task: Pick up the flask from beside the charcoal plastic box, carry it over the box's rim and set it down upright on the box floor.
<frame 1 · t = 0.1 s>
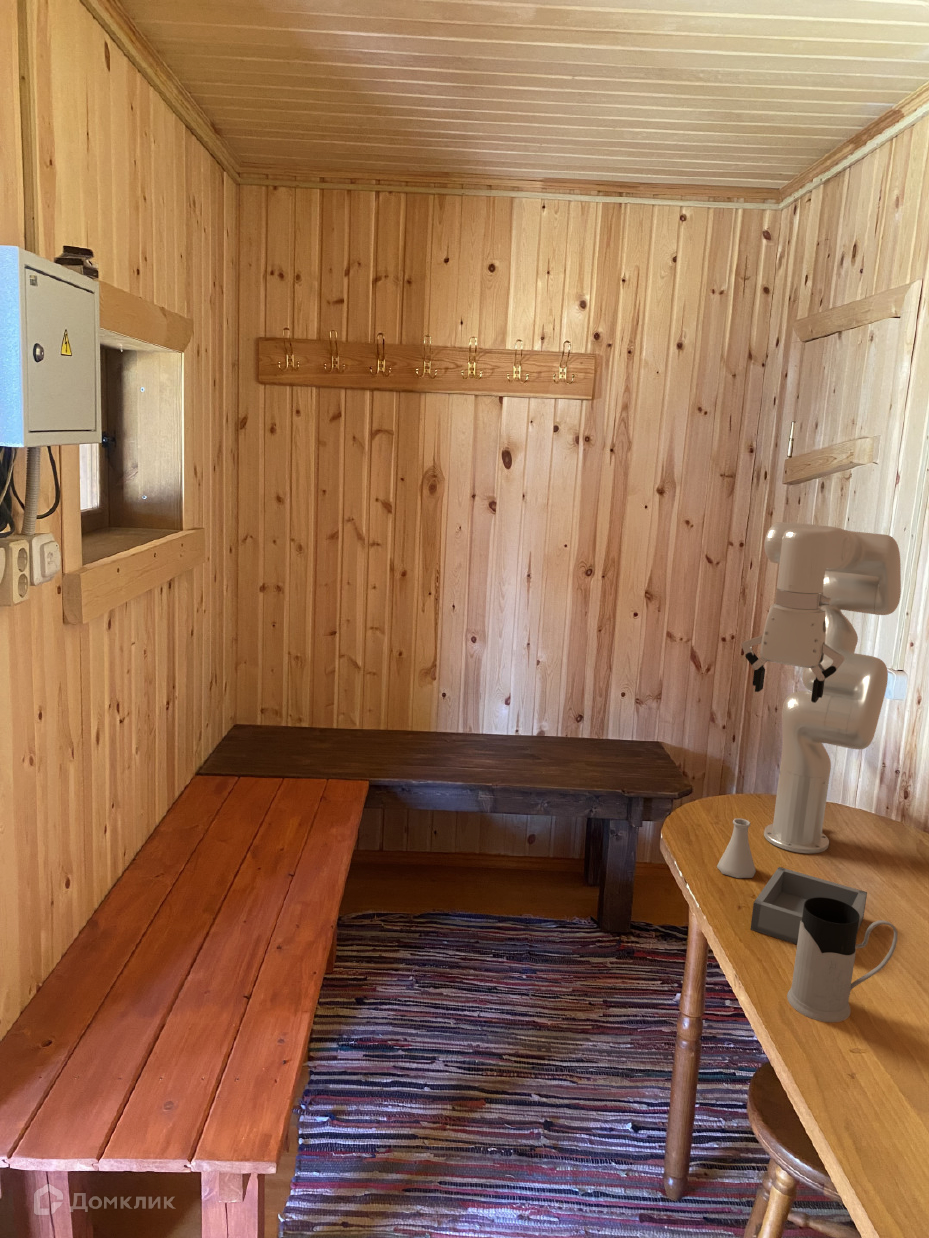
hand: (786, 695, 162), 37 cm above the table, tool pointing down, fingers open, 9 cm apart
charcoal box: (807, 923, 157), on the table
grey mug: (837, 1005, 135), on the table
flask: (735, 871, 175), on the table
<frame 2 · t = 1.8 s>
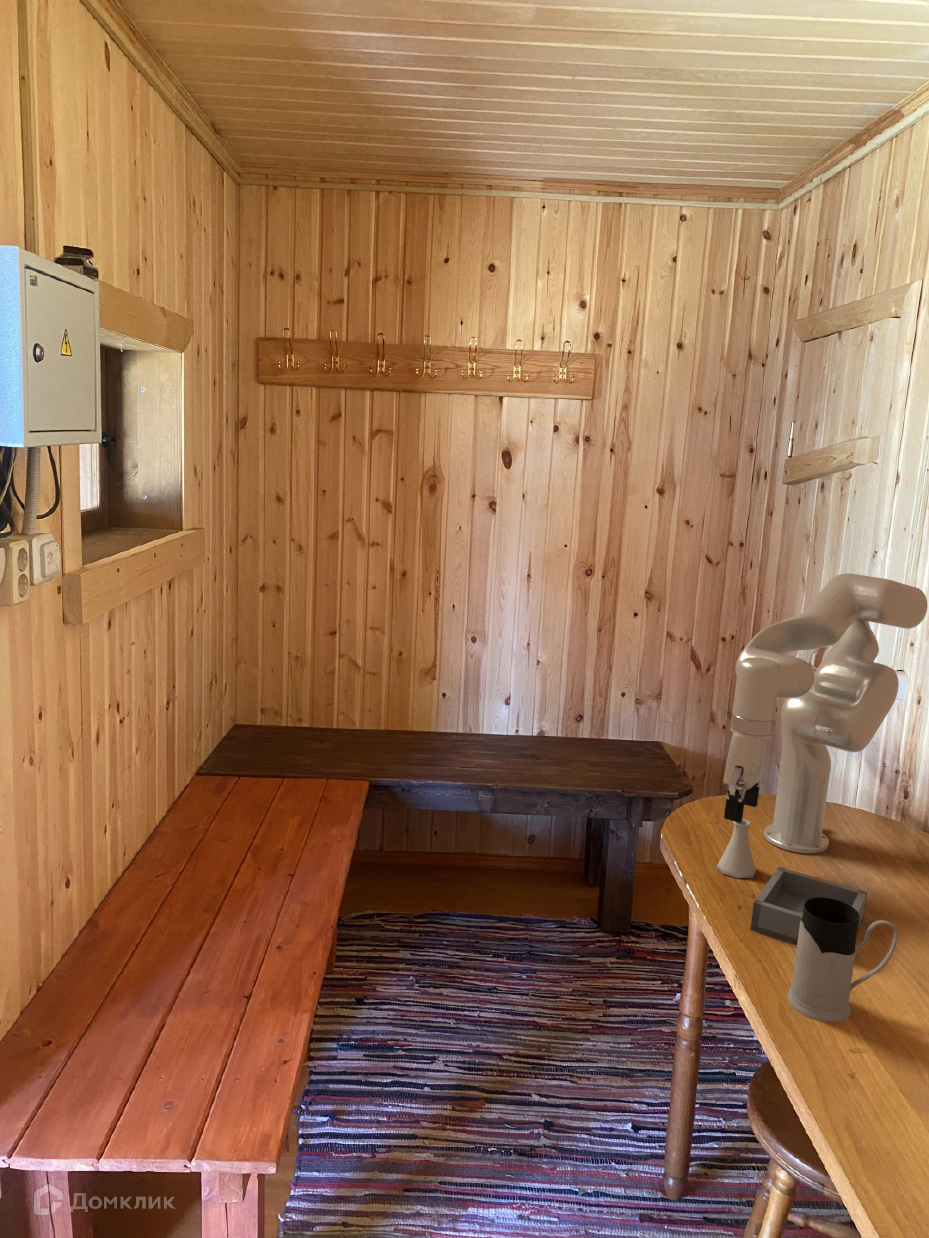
hand: (740, 812, 172), 12 cm above the table, tool pointing down, fingers open, 9 cm apart
nothing on the table moved.
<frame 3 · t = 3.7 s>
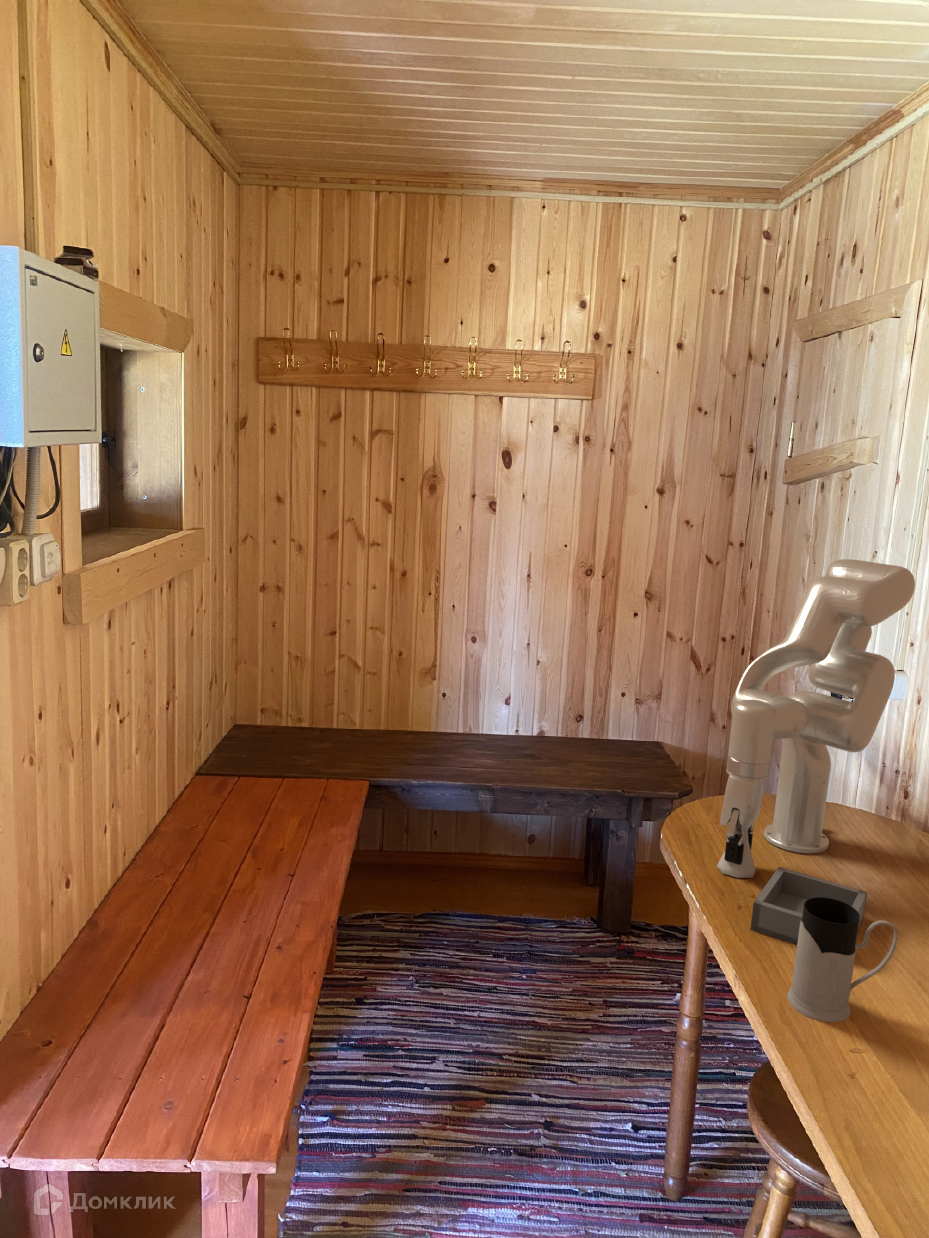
hand: (737, 855, 174), 3 cm above the table, tool pointing down, fingers closed on flask, 4 cm apart
flask: (735, 871, 175), on the table, touching gripper
everything else where it was.
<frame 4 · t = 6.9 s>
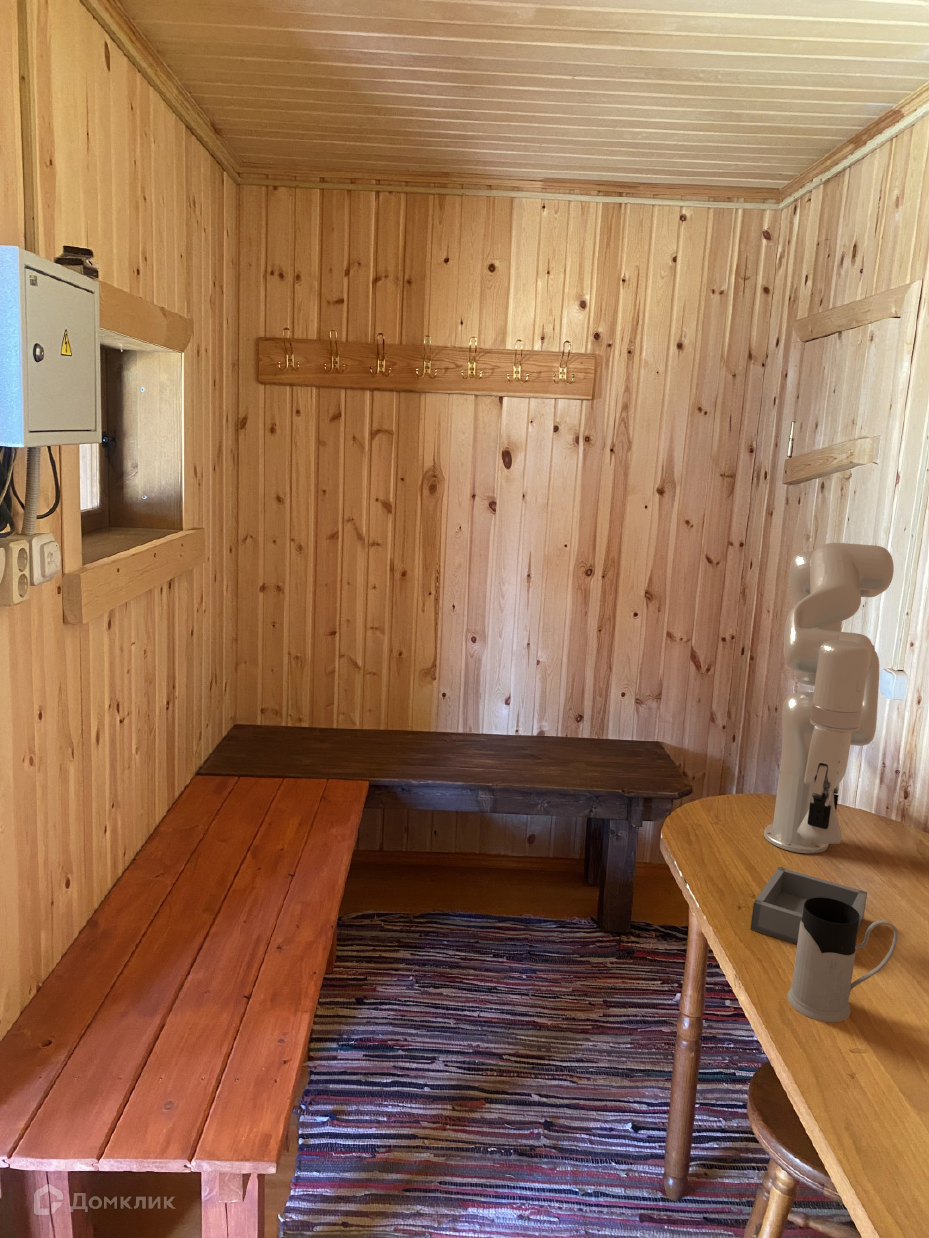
hand: (821, 819, 153), 19 cm above the table, tool pointing down, fingers closed on flask, 4 cm apart
flask: (818, 837, 153), point 16 cm above the table, touching gripper
everything else where it was.
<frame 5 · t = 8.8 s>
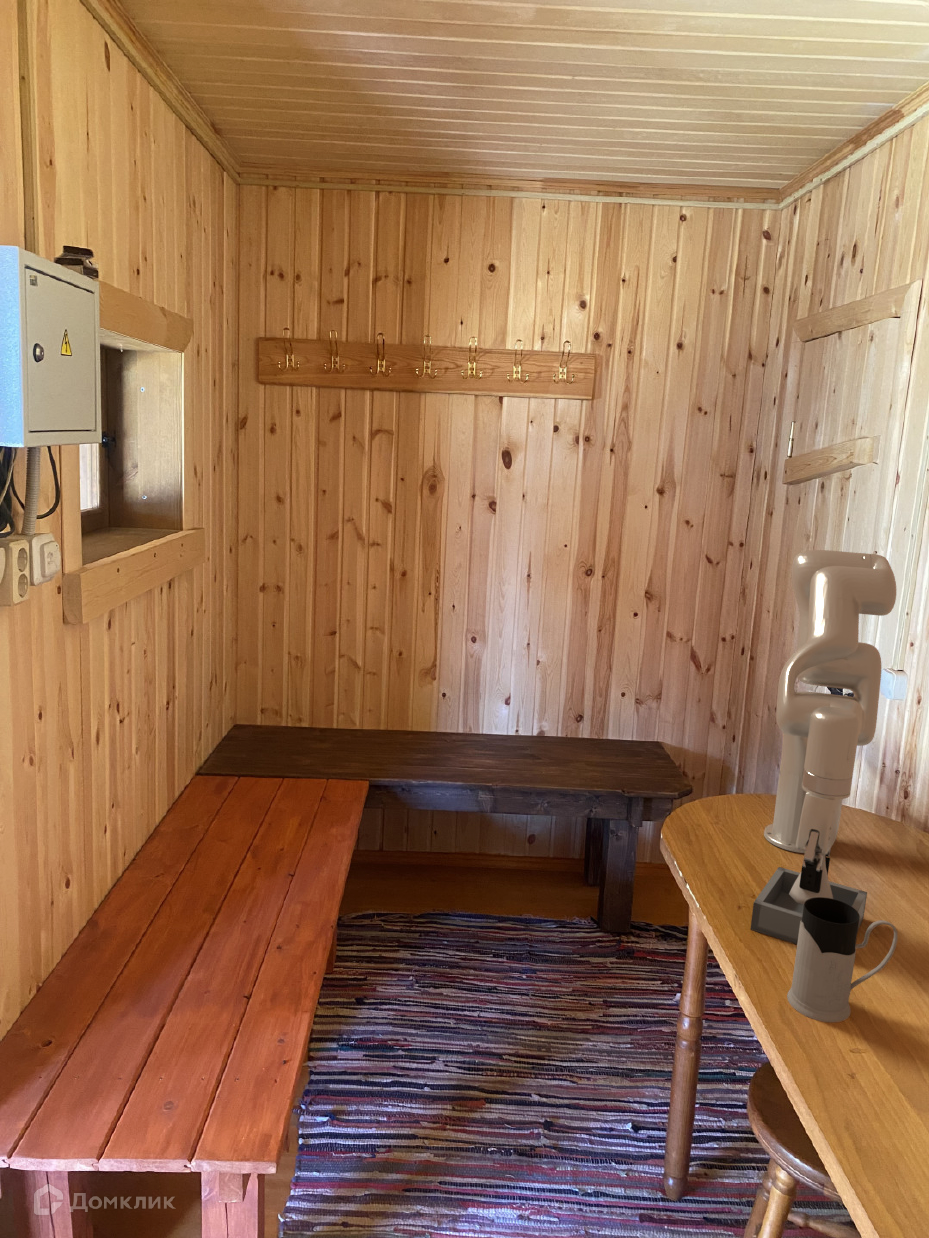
hand: (813, 882, 155), 8 cm above the table, tool pointing down, fingers closed on flask, 4 cm apart
flask: (810, 899, 156), point 5 cm above the table, touching gripper
everything else where it was.
when the fingers open (6 cm above the table, at t = 10.0 s): flask drops 2 cm, resting on charcoal box.
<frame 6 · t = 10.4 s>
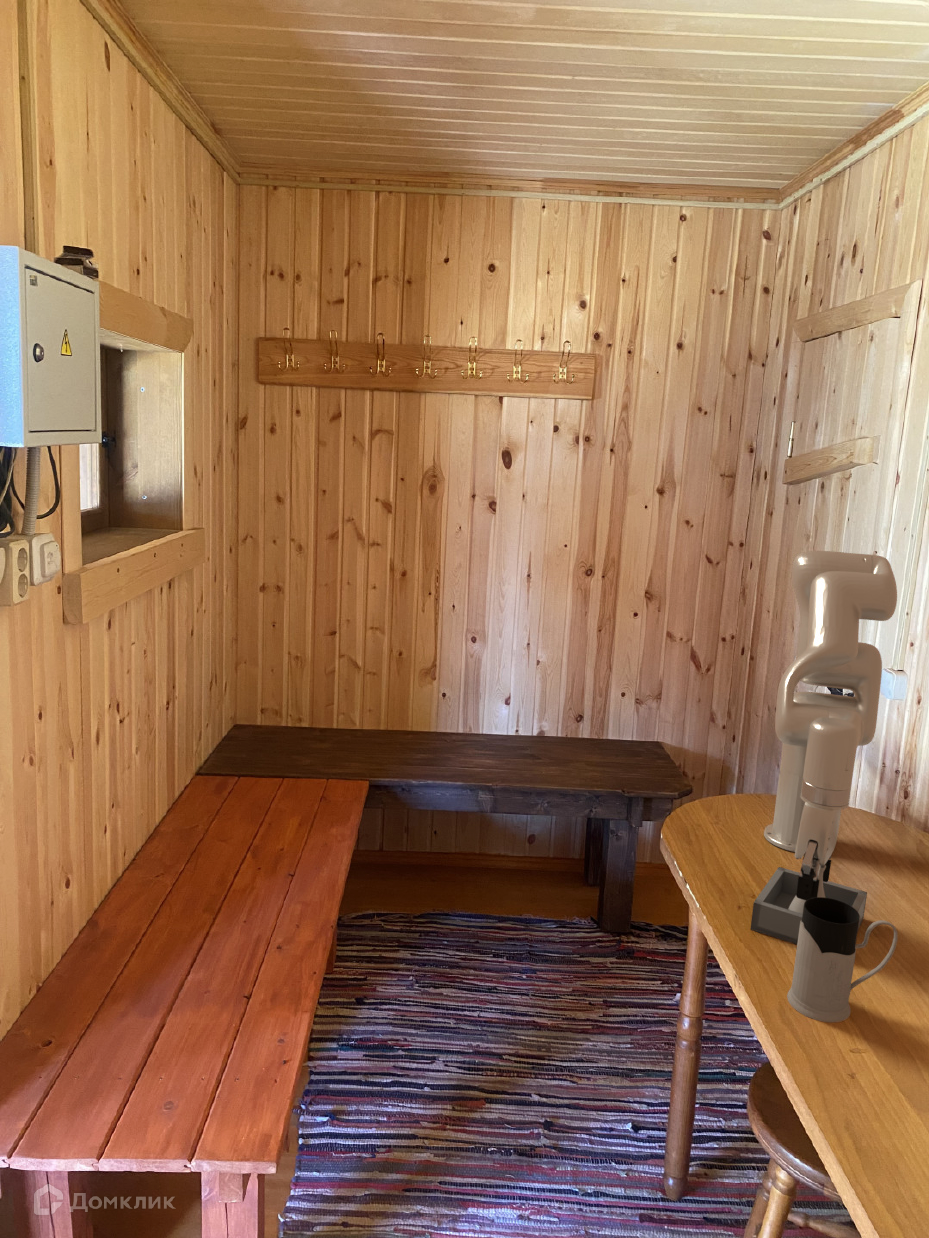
hand: (812, 888, 155), 7 cm above the table, tool pointing down, fingers open, 8 cm apart
flask: (807, 918, 157), point 1 cm above the table, touching charcoal box
everything else where it was.
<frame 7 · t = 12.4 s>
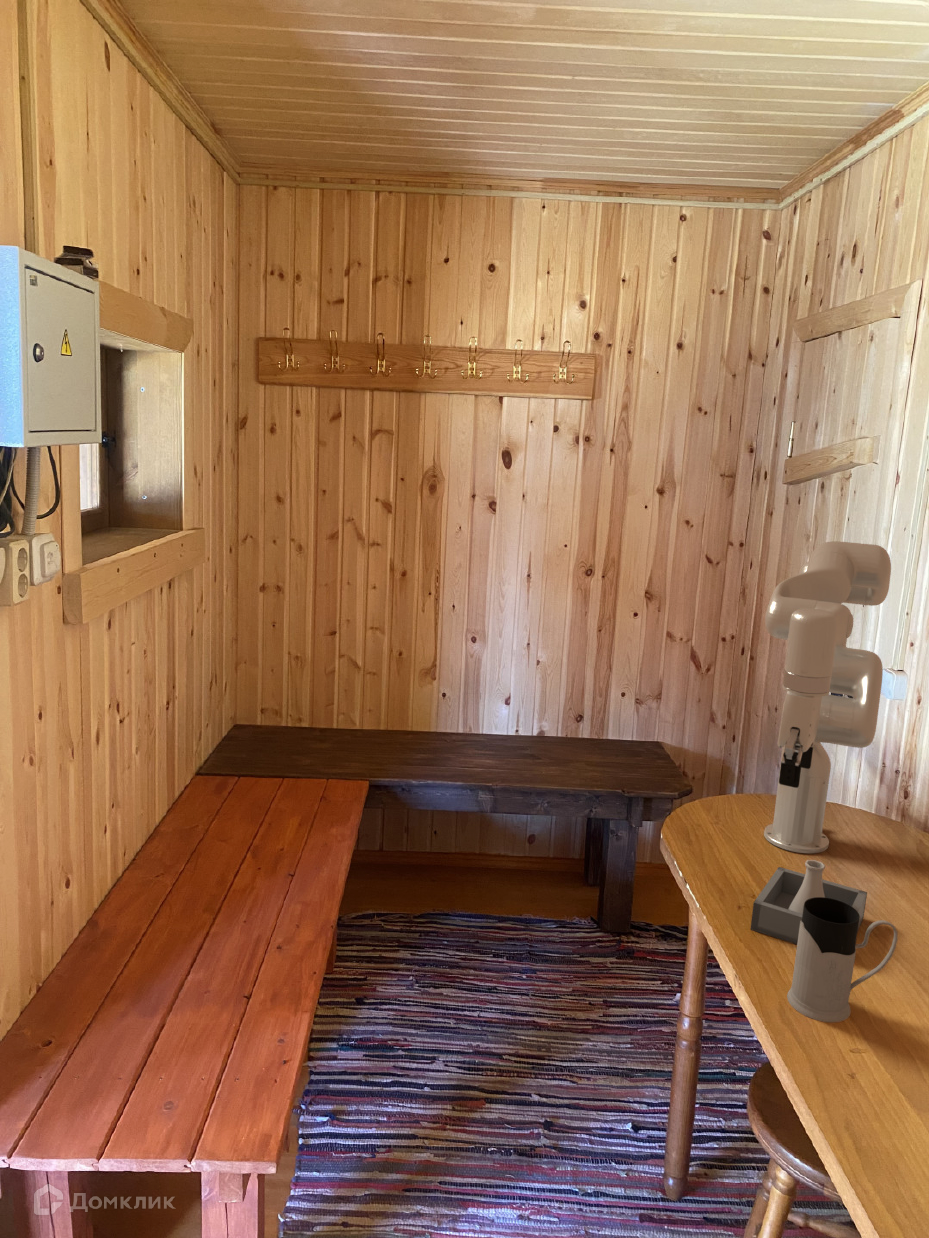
hand: (794, 775, 159), 24 cm above the table, tool pointing down, fingers open, 9 cm apart
nothing on the table moved.
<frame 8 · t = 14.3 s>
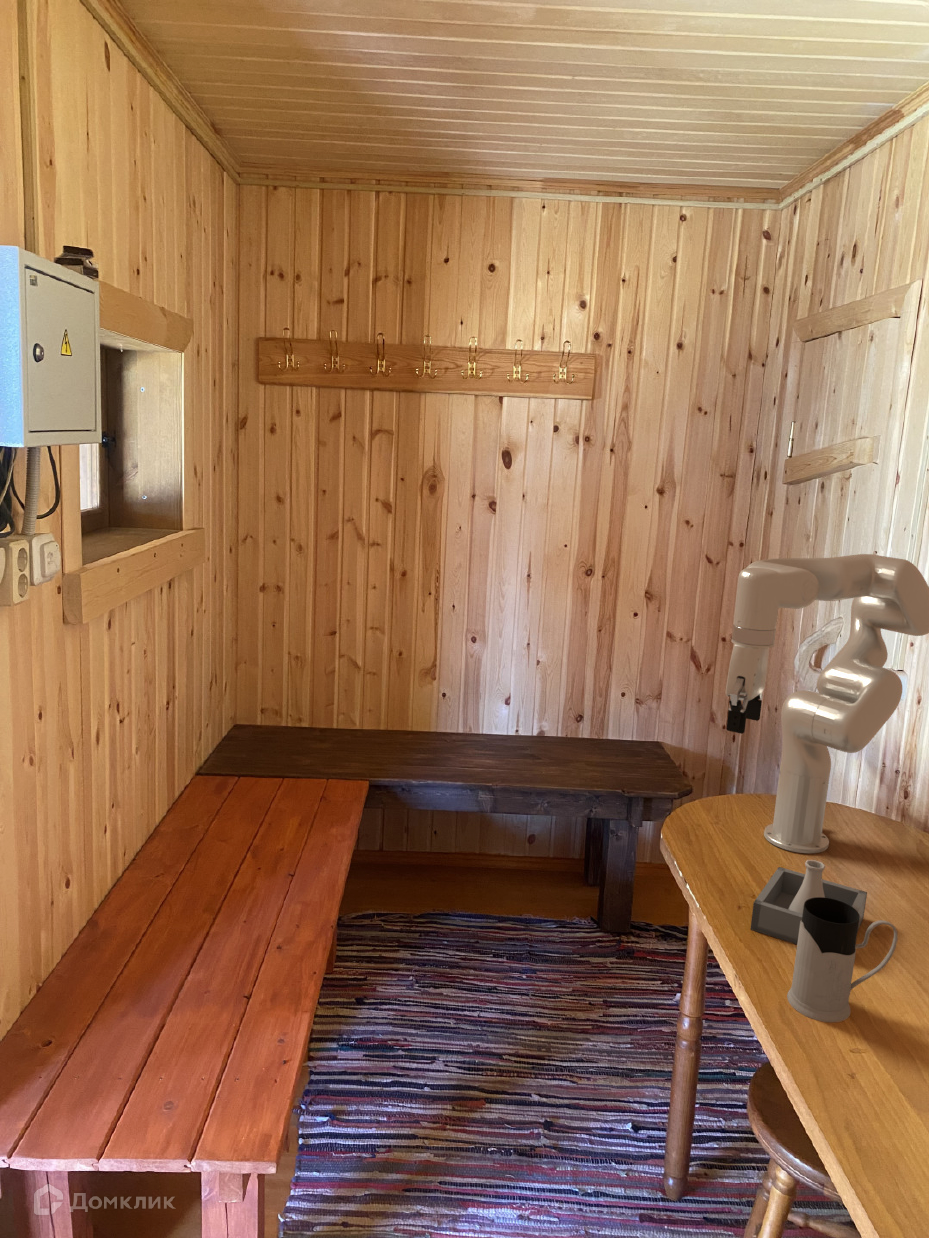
hand: (743, 725, 171), 28 cm above the table, tool pointing down, fingers open, 9 cm apart
nothing on the table moved.
at the end: flask inside the target area on the charcoal box (0.2 cm from its centre), point 0.8 cm above the charcoal box's base; flask tilted 0°; the gripper is holding nothing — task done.
